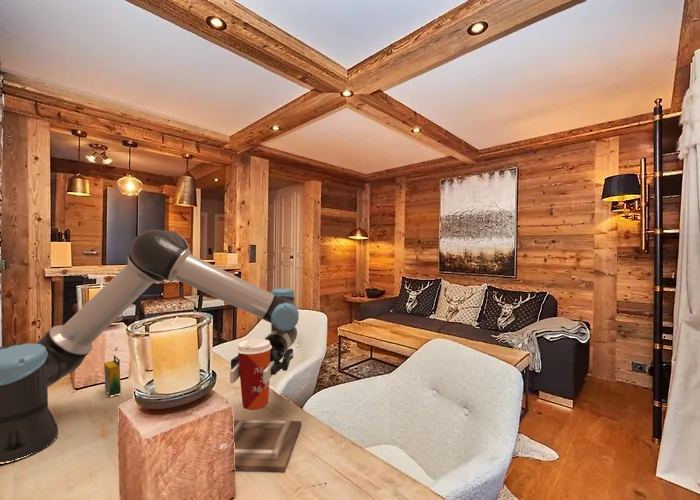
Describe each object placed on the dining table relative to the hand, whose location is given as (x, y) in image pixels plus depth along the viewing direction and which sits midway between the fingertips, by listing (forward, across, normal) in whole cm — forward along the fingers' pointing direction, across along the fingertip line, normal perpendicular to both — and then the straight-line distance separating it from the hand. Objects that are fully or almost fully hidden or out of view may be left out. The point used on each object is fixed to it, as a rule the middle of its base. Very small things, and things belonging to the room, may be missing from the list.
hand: (248, 377), depth 76 cm
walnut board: (-4, 0, -18) cm, 19 cm away
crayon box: (-31, +56, -18) cm, 67 cm away
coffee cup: (-5, 0, -9) cm, 10 cm away
